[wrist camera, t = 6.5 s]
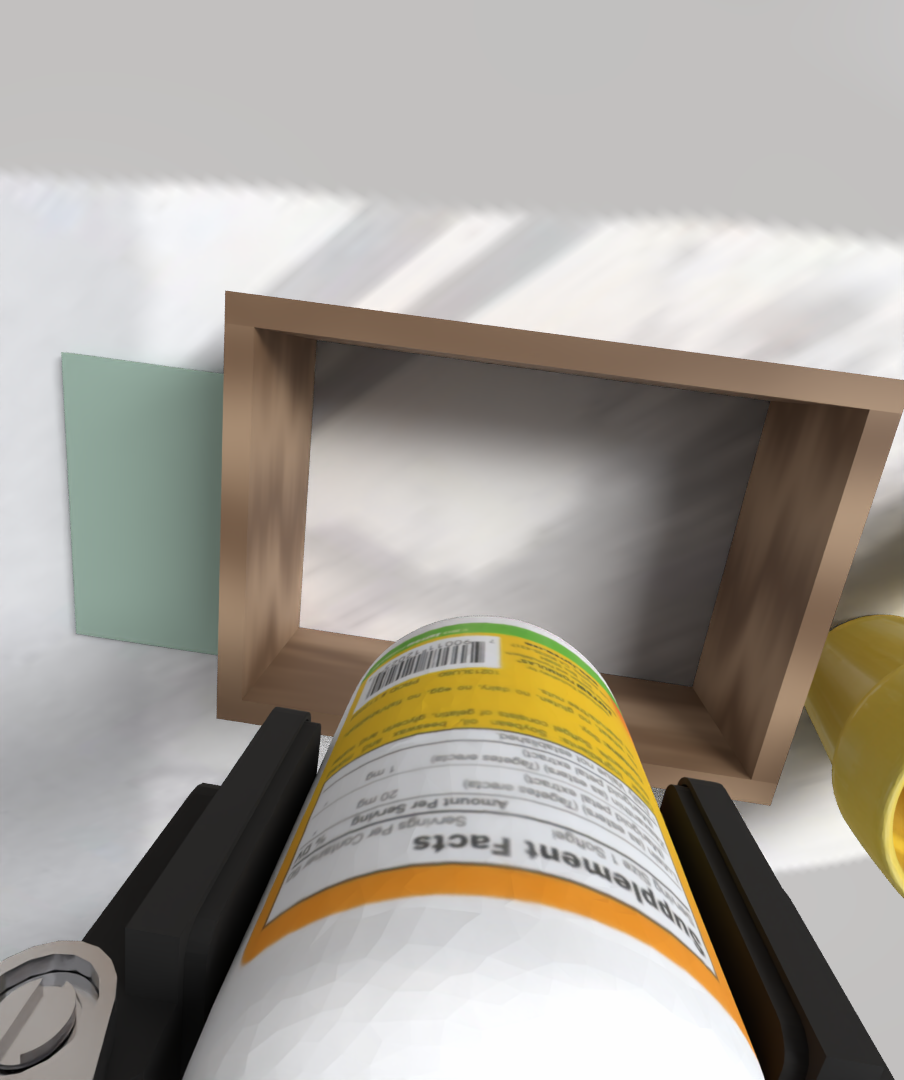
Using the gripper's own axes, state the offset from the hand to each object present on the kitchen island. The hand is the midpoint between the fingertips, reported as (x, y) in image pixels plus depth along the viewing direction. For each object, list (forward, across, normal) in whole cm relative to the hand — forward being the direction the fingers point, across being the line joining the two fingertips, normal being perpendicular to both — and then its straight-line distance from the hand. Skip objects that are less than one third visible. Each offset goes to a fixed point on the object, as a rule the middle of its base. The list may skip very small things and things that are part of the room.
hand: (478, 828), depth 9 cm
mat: (+19, +16, +2) cm, 25 cm away
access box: (+19, -1, -1) cm, 19 cm away
